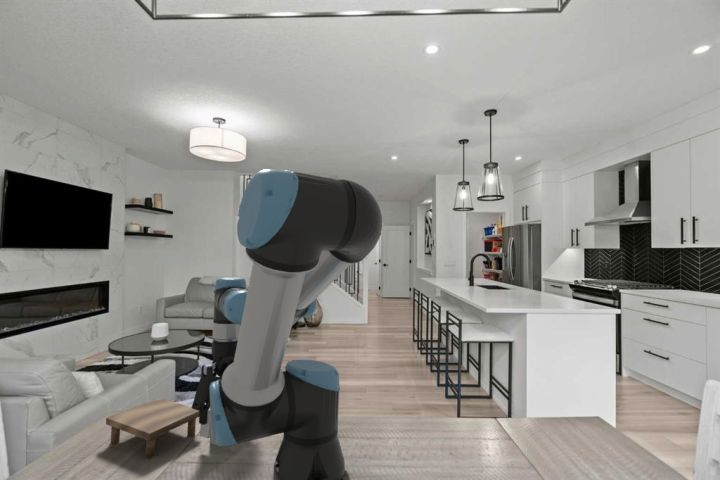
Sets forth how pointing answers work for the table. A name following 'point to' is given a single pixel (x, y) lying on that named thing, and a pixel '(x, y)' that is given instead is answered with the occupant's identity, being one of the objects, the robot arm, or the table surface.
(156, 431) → the low wooden table
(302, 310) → the robot arm
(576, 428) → the table surface
